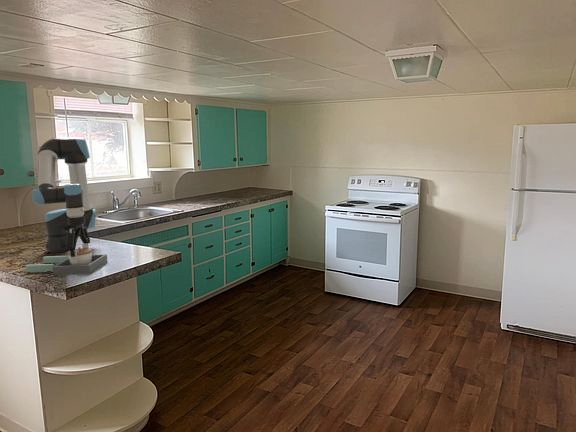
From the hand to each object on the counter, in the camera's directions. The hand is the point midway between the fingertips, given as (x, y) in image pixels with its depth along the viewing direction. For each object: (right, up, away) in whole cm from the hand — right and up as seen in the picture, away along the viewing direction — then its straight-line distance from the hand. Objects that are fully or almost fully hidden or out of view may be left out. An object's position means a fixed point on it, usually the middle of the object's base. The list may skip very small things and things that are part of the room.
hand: (80, 259), depth 218 cm
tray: (0, -4, +1) cm, 4 cm away
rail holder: (-18, -4, +5) cm, 19 cm away
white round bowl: (0, -3, +1) cm, 3 cm away
